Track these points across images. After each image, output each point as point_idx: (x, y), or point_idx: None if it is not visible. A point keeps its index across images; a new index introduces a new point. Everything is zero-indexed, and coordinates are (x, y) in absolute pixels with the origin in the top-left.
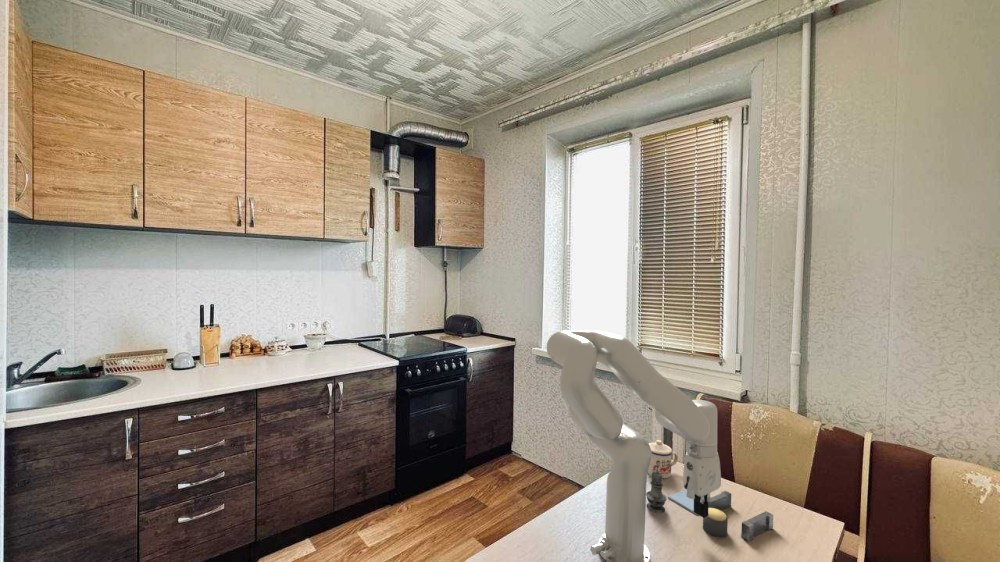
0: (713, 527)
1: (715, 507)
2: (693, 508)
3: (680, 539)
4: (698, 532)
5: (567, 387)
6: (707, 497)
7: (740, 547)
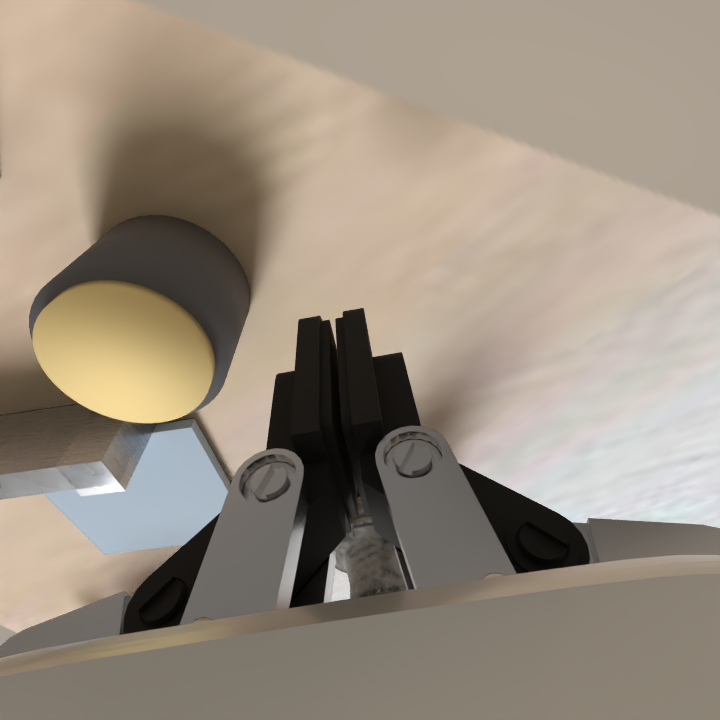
0: (213, 278)
1: (39, 433)
2: (181, 455)
3: (472, 286)
4: (301, 305)
5: None
6: (290, 501)
7: (85, 74)
